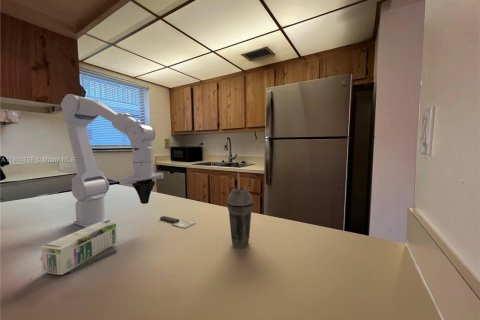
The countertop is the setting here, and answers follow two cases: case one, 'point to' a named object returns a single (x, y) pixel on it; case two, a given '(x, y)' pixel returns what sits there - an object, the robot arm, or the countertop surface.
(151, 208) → the countertop surface
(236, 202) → the beverage cup
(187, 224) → the spatula
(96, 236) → the syrup box
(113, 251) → the mat
